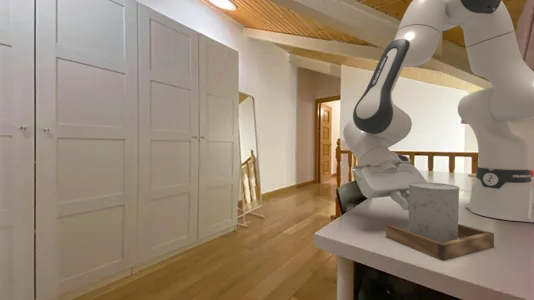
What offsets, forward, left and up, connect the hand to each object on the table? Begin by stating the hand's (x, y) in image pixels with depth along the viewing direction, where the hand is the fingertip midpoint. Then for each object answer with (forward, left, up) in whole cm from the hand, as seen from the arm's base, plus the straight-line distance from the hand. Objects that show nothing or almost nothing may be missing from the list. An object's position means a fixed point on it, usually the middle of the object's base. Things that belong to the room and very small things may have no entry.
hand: (410, 208), depth 63 cm
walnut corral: (0, +7, -6) cm, 9 cm away
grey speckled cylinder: (0, +5, -6) cm, 8 cm away
